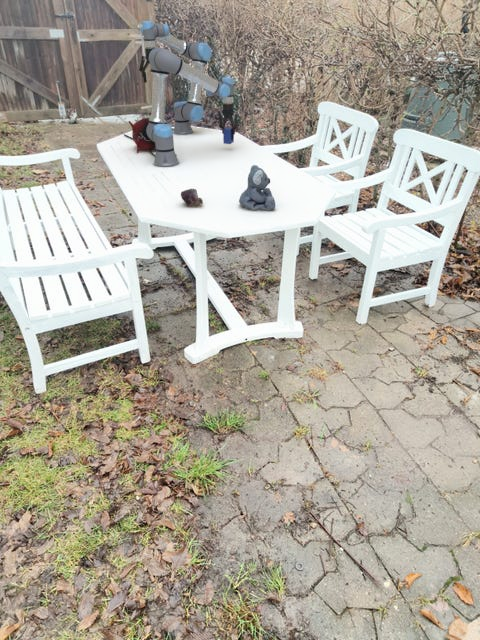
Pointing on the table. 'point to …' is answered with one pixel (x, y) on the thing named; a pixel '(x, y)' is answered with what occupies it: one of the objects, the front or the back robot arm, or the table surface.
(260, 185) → the koala plush
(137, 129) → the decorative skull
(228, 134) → the block
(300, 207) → the table surface
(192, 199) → the rock
